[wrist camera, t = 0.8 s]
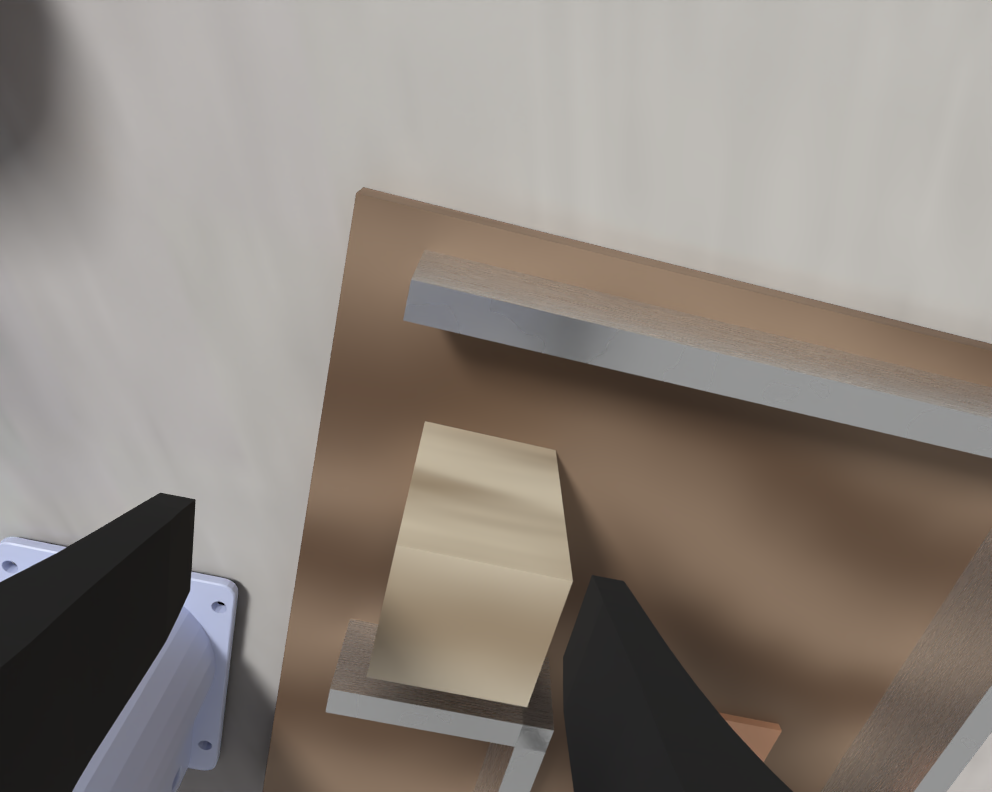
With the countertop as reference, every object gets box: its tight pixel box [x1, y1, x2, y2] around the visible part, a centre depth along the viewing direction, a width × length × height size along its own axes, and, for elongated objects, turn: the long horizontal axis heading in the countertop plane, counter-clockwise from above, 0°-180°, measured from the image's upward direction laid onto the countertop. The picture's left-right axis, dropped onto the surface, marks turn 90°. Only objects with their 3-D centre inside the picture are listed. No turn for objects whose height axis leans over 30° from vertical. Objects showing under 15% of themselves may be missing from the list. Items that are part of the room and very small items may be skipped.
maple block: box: [367, 421, 573, 707], centre depth 19 cm, size 4×4×6 cm
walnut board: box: [263, 187, 992, 792], centre depth 24 cm, size 24×24×1 cm
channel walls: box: [326, 249, 992, 792], centre depth 22 cm, size 21×20×3 cm
